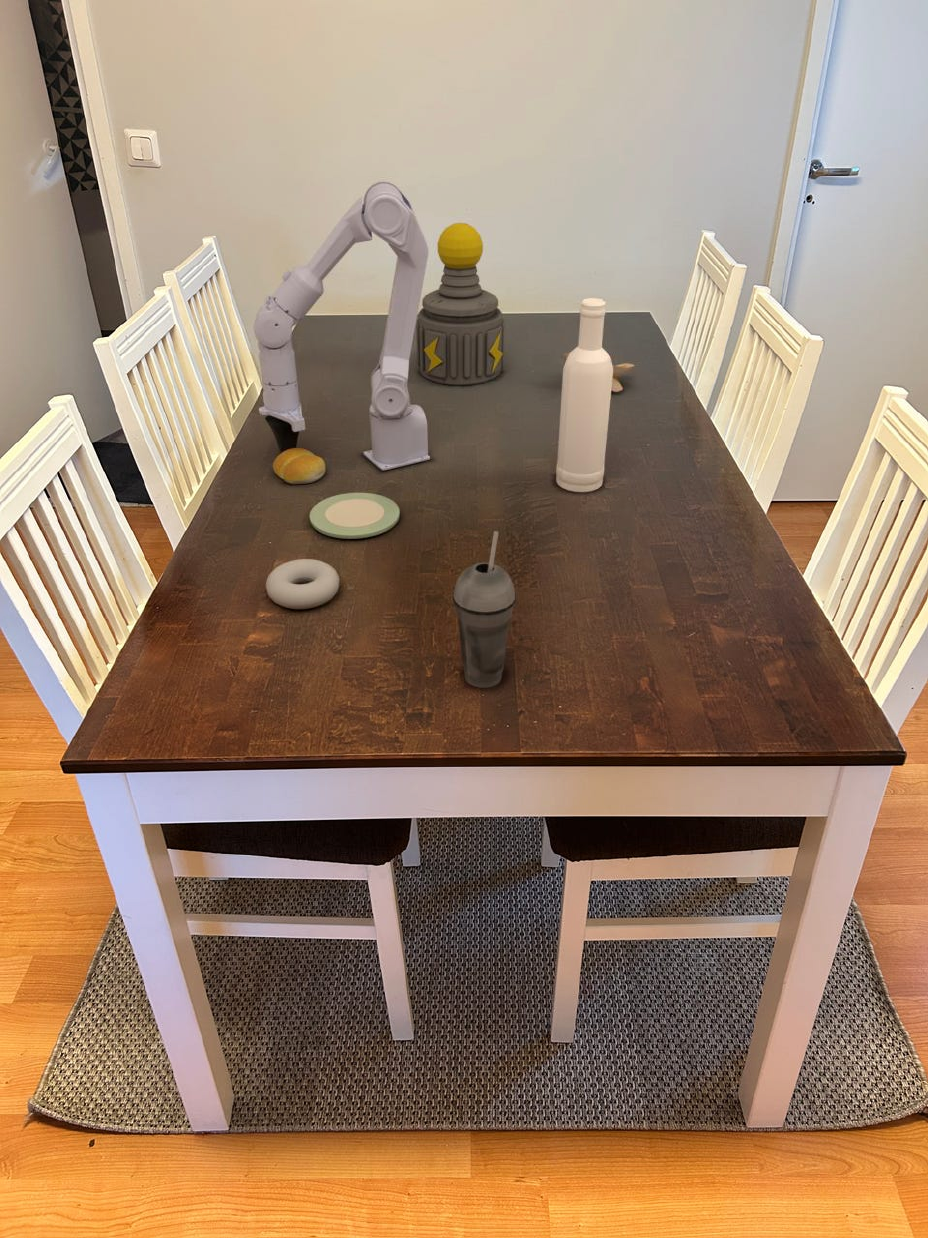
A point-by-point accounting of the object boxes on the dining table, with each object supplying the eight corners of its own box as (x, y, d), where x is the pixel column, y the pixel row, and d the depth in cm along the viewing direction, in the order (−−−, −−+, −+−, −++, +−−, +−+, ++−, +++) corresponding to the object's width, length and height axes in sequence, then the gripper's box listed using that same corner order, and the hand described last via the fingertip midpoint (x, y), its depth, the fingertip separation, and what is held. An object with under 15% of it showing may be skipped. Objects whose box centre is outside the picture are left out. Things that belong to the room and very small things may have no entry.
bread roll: (295, 490, 154) (292, 468, 151) (267, 472, 159) (264, 450, 157) (336, 476, 158) (334, 454, 156) (308, 458, 164) (305, 437, 161)
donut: (258, 586, 130) (280, 621, 122) (254, 565, 128) (277, 599, 120) (325, 569, 134) (351, 602, 126) (323, 548, 132) (349, 580, 124)
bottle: (612, 481, 156) (630, 300, 139) (584, 497, 152) (599, 311, 134) (574, 467, 161) (587, 290, 144) (545, 482, 156) (556, 301, 139)
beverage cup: (451, 659, 116) (449, 517, 104) (509, 656, 116) (514, 515, 105) (455, 696, 110) (454, 550, 98) (516, 693, 110) (522, 547, 99)
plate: (376, 491, 153) (376, 484, 153) (415, 527, 143) (415, 520, 143) (296, 511, 148) (295, 504, 147) (331, 550, 138) (331, 543, 137)
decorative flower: (650, 374, 193) (647, 330, 186) (627, 404, 187) (623, 359, 180) (585, 366, 200) (580, 323, 193) (561, 393, 194) (555, 350, 187)
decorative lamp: (451, 351, 210) (450, 208, 193) (520, 368, 201) (526, 220, 184) (398, 374, 198) (392, 225, 181) (470, 394, 189) (471, 238, 172)
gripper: (242, 370, 157) (252, 445, 165) (272, 398, 147) (281, 476, 155) (281, 363, 160) (289, 437, 168) (313, 390, 150) (321, 467, 158)
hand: (288, 455), depth 161 cm, fingers closed
